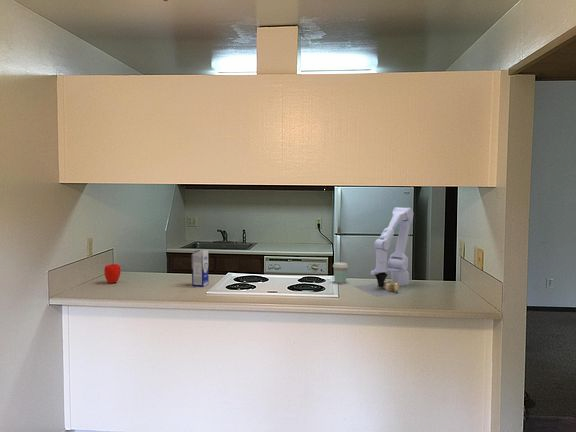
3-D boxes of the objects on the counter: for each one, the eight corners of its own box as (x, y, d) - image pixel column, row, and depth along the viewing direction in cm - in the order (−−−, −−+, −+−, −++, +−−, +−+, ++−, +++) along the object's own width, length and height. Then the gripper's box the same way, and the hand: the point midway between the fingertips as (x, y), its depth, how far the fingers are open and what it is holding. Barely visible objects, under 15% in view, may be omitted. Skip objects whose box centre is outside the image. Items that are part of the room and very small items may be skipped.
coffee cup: (350, 285, 253) (350, 264, 252) (336, 286, 250) (336, 265, 249) (343, 282, 261) (344, 261, 260) (330, 283, 258) (330, 262, 257)
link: (376, 285, 248) (376, 279, 248) (383, 284, 249) (383, 279, 249) (388, 291, 233) (388, 285, 232) (396, 291, 234) (396, 285, 233)
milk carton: (203, 287, 247) (202, 251, 246) (192, 286, 249) (191, 250, 248) (208, 284, 254) (208, 249, 253) (197, 283, 256) (197, 248, 255)
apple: (119, 284, 254) (119, 265, 253) (103, 284, 252) (102, 265, 251) (121, 280, 263) (121, 262, 262) (106, 281, 261) (105, 263, 260)
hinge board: (380, 285, 253) (380, 283, 253) (406, 295, 230) (406, 293, 230) (352, 287, 247) (352, 285, 247) (376, 298, 224) (376, 296, 224)
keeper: (388, 290, 236) (388, 280, 236) (392, 290, 237) (393, 280, 236) (394, 293, 230) (395, 283, 229) (399, 293, 230) (399, 283, 230)
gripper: (384, 259, 247) (384, 283, 248) (366, 261, 238) (365, 287, 239) (394, 261, 241) (394, 286, 242) (376, 263, 233) (375, 289, 234)
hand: (380, 286), depth 240 cm, fingers closed
